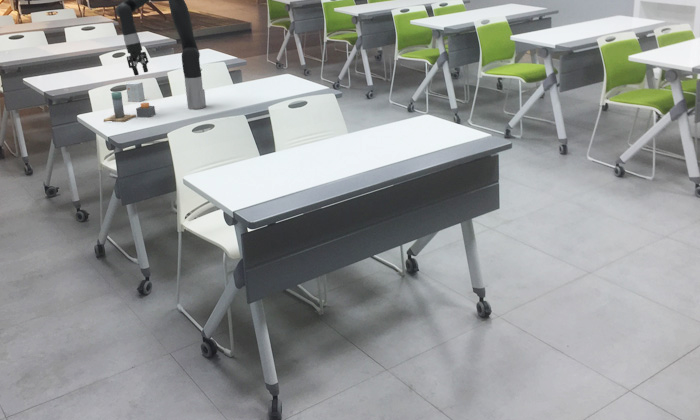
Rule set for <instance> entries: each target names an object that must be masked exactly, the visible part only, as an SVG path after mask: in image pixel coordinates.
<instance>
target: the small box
mask: <svg viewBox="0 0 700 420" xmlns="http://www.w3.org/2000/svg"><path fill="white" fill-rule="evenodd" d="M125 88H126V95H127V100H128V102H139V103H140V102H142V101H144V100H146V98H145V91H144V85H143V82H142V81H139V82H138V81H130V82H127V83H125Z"/></svg>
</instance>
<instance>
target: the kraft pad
mask: <svg viewBox="0 0 700 420" xmlns="http://www.w3.org/2000/svg"><path fill="white" fill-rule="evenodd" d="M124 116H125V117H123V118H115V114H113V115H111V116H109V117H106V118H104V119H103V122H107V121H112V122H113V123H114V122H115V123H116V122H117V123H118V122H119V123H125V122H127V121H129V120H132V119H133V118H136V117H137V114H124ZM112 122H111V123H112Z"/></svg>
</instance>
